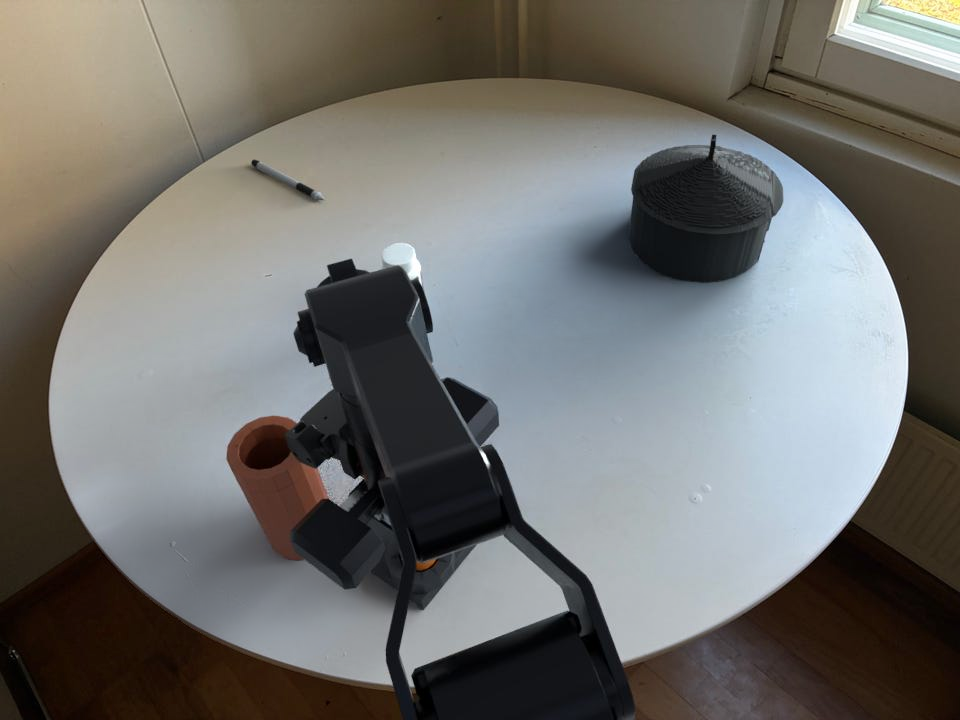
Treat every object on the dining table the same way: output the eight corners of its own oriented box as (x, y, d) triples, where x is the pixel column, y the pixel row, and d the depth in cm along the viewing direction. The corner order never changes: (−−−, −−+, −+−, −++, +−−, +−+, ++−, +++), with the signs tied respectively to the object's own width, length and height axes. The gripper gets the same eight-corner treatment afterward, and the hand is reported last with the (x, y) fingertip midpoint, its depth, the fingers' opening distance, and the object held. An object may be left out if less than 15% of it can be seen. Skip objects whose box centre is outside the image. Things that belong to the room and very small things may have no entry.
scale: (428, 614, 69) (423, 597, 66) (343, 552, 73) (336, 534, 71) (511, 510, 75) (510, 490, 73) (428, 459, 80) (425, 439, 77)
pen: (257, 164, 119) (255, 156, 118) (329, 201, 111) (327, 194, 110) (251, 168, 118) (248, 160, 117) (322, 206, 110) (321, 198, 109)
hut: (768, 294, 94) (800, 192, 82) (619, 276, 97) (630, 177, 86) (767, 203, 105) (794, 104, 94) (633, 191, 109) (645, 93, 98)
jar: (302, 573, 72) (263, 493, 62) (255, 536, 75) (210, 454, 64) (350, 522, 75) (321, 438, 65) (303, 489, 78) (268, 404, 68)
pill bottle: (395, 289, 98) (386, 237, 91) (430, 295, 97) (423, 243, 90) (382, 315, 95) (372, 263, 88) (418, 321, 94) (410, 269, 87)
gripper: (389, 298, 63) (411, 415, 74) (212, 453, 53) (270, 559, 65) (500, 354, 58) (505, 470, 69) (327, 537, 48) (367, 635, 60)
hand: (413, 527), depth 66 cm, fingers closed
